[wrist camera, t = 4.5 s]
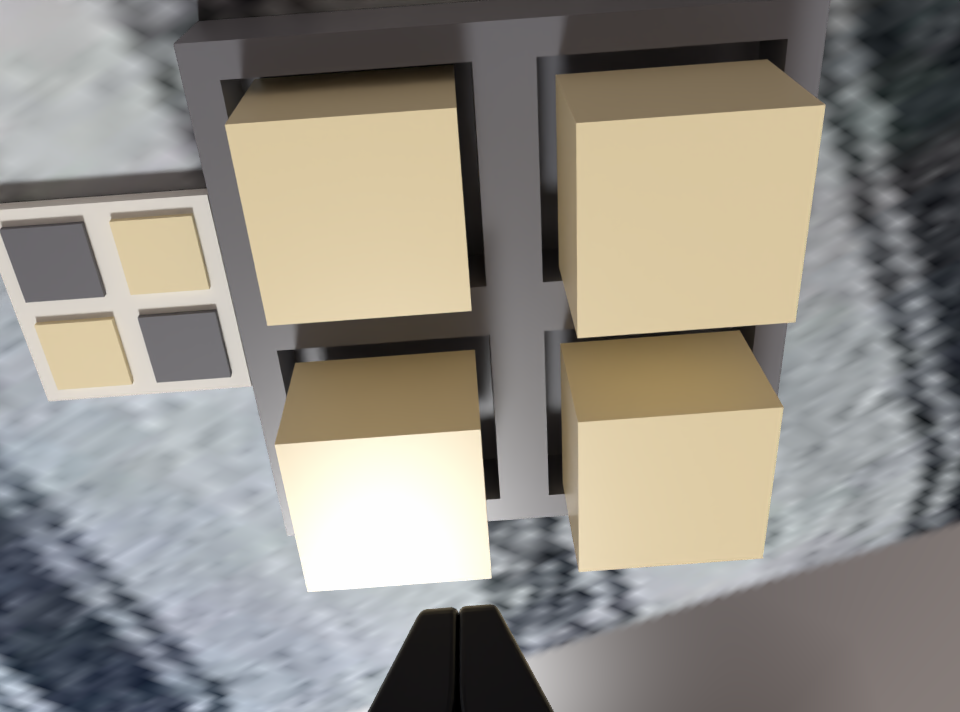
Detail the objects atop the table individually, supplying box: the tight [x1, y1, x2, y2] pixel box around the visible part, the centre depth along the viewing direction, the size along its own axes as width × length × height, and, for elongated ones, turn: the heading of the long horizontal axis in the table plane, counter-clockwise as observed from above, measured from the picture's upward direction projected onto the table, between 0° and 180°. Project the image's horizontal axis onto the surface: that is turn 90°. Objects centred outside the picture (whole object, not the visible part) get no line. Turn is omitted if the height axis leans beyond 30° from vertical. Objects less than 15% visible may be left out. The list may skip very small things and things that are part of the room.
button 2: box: [275, 350, 492, 592], centre depth 20 cm, size 4×4×3 cm
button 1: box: [560, 330, 784, 572], centre depth 20 cm, size 4×4×3 cm
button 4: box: [225, 64, 472, 326], centre depth 18 cm, size 4×4×3 cm
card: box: [0, 188, 252, 401], centre depth 21 cm, size 5×5×1 cm
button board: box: [174, 0, 830, 536], centre depth 21 cm, size 12×12×2 cm
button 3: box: [555, 59, 825, 338], centre depth 17 cm, size 4×4×3 cm
